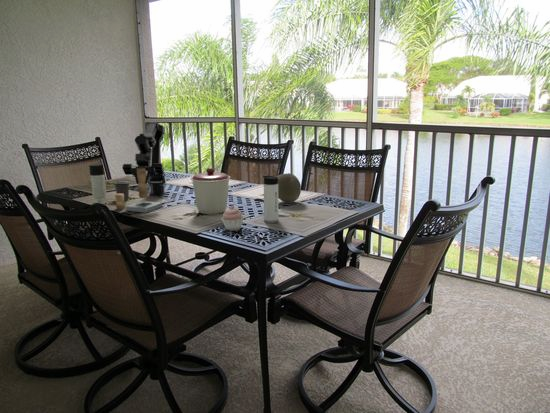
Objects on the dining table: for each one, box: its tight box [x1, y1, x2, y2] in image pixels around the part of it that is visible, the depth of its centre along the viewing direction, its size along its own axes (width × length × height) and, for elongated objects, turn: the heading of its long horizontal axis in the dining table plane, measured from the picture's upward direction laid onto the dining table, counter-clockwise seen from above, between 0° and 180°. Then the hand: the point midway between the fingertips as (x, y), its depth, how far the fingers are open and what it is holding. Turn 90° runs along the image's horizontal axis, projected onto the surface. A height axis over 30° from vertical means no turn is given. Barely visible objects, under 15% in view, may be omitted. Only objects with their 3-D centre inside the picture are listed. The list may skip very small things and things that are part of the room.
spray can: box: [88, 163, 108, 205], centre depth 219 cm, size 7×7×20 cm
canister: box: [190, 166, 231, 215], centre depth 202 cm, size 18×18×21 cm
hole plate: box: [125, 200, 163, 214], centre depth 211 cm, size 12×12×2 cm
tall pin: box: [137, 168, 149, 199], centre depth 208 cm, size 4×4×14 cm
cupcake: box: [220, 205, 245, 232], centre depth 177 cm, size 9×9×10 cm
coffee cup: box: [113, 180, 131, 201], centre depth 228 cm, size 8×8×10 cm
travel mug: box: [262, 175, 279, 224], centre depth 186 cm, size 6×7×20 cm
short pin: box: [114, 193, 126, 210], centre depth 211 cm, size 4×4×7 cm
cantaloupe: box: [276, 173, 302, 203], centre depth 219 cm, size 14×14×15 cm
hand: (141, 183), depth 207 cm, fingers closed on tall pin, 4 cm apart
